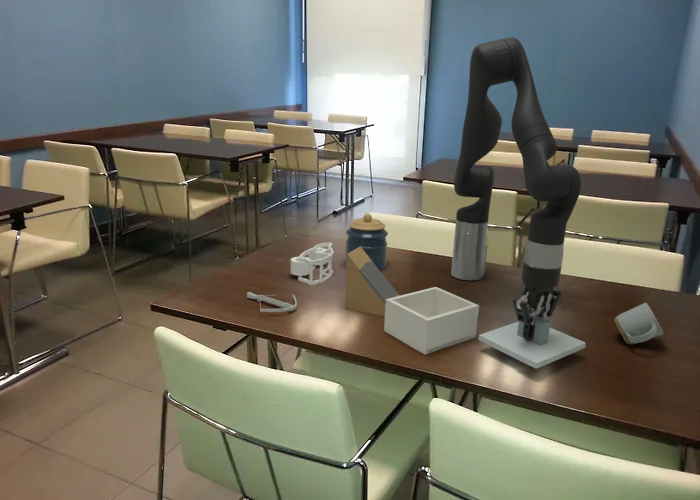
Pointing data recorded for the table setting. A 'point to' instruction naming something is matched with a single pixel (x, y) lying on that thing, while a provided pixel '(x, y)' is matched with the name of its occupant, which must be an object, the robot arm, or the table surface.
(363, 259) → the sandwich container
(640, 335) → the ceramic mug
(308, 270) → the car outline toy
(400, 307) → the box
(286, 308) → the crossbow
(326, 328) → the table surface
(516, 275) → the table surface
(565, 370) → the table surface
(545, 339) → the lid
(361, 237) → the canister
